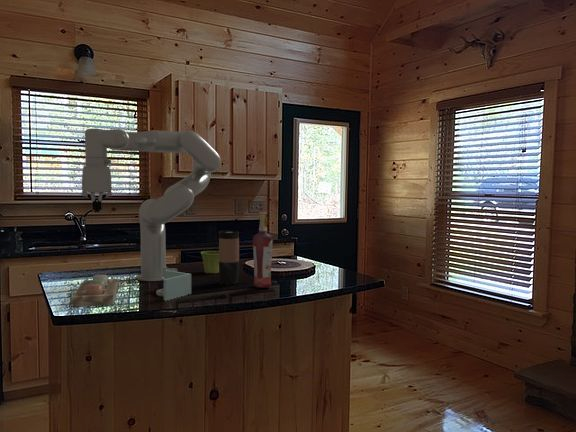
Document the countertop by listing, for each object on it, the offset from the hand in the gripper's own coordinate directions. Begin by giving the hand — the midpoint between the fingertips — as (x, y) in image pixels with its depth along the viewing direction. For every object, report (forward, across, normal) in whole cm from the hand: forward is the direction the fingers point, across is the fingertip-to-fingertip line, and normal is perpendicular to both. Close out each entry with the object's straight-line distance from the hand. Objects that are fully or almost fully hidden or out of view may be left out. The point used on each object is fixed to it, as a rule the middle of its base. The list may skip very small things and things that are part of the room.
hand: (97, 211), depth 183 cm
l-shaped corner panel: (+28, -24, +24) cm, 44 cm away
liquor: (+27, -59, +20) cm, 68 cm away
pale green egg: (+27, -2, +21) cm, 34 cm away
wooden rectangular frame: (+27, -2, +21) cm, 34 cm away
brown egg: (+27, -2, +29) cm, 39 cm away
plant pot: (+27, -44, -13) cm, 53 cm away
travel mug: (+27, -48, +10) cm, 56 cm away
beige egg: (+27, -2, +13) cm, 30 cm away
